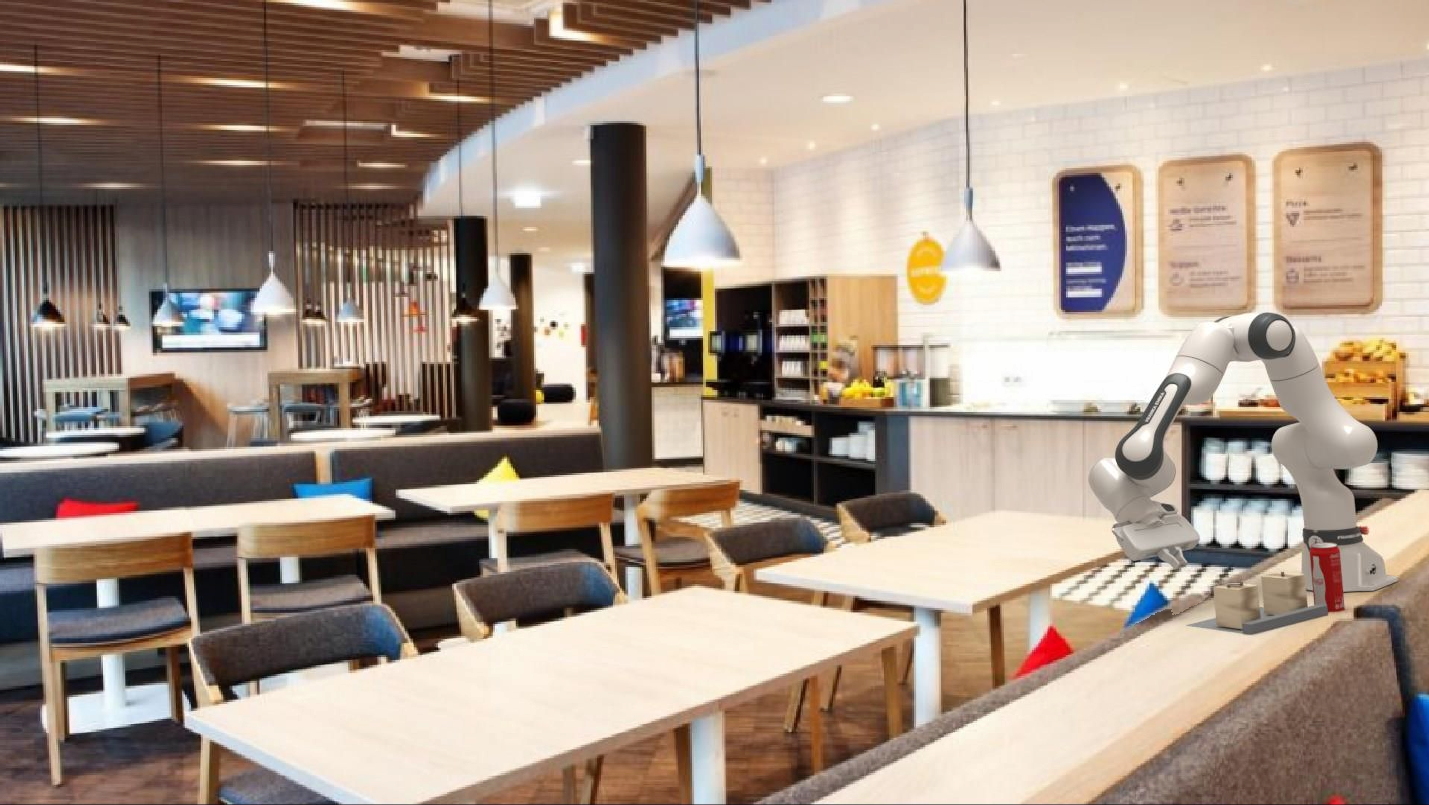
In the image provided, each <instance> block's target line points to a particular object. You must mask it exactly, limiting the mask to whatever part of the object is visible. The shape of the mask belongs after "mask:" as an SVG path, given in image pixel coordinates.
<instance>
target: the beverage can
mask: <svg viewBox="0 0 1429 805" xmlns="http://www.w3.org/2000/svg"><path fill="white" fill-rule="evenodd" d="M1310 562H1311V574H1312V585H1313V590H1312V595H1313V606H1314V605H1318V604H1320V605H1327V610H1328V613H1335V612H1336V613H1338V612H1343V611H1345V610H1346V609H1345V608H1346V605H1345V598H1344V597H1345V596H1344V592H1343V582H1342V571H1341V559H1340V550H1339V548H1338V546H1337V544H1335V543H1326V542H1325V543H1314V544H1312V545H1311V549H1310Z"/></svg>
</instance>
